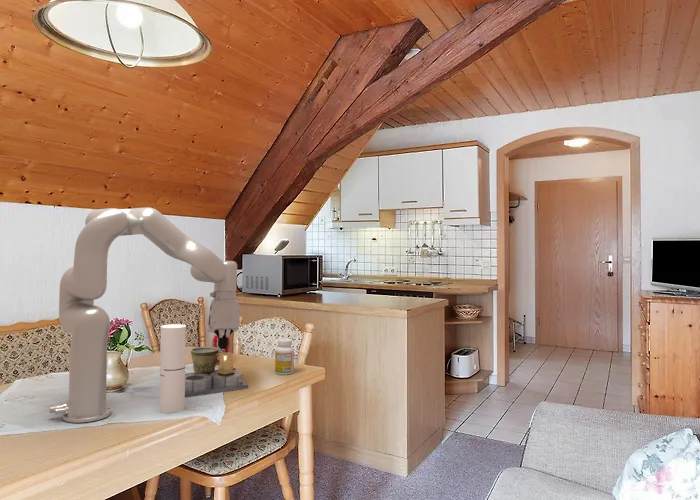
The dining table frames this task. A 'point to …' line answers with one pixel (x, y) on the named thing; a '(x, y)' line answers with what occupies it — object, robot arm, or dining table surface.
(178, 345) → the cylindrical container
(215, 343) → the soda can
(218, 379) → the jig
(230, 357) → the cylinder
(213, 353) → the ceramic cup
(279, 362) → the supplement bottle
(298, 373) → the dining table surface
